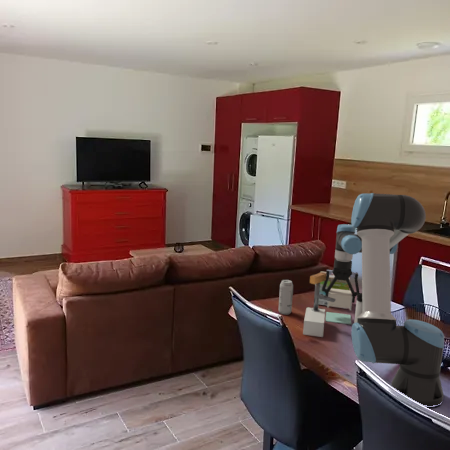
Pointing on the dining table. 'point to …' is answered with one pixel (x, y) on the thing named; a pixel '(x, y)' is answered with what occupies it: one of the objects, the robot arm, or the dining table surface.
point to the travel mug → (358, 306)
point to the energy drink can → (285, 297)
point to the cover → (340, 298)
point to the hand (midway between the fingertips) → (339, 307)
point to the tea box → (338, 285)
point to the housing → (314, 322)
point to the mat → (338, 318)
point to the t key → (316, 280)
